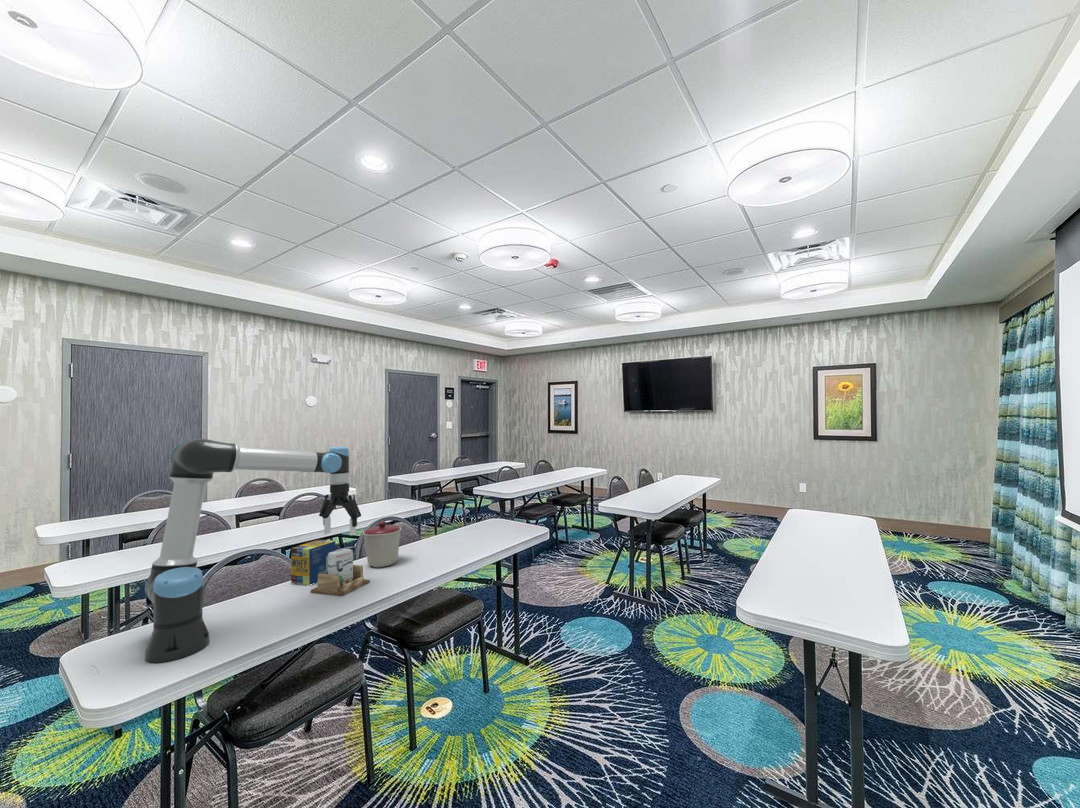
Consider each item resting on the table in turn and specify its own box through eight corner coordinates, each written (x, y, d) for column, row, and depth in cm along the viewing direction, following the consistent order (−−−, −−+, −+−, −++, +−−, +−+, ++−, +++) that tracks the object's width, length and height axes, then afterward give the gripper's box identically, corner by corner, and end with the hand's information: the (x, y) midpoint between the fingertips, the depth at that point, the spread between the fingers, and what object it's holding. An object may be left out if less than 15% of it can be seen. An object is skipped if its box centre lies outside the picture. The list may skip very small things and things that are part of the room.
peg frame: (341, 596, 174) (341, 577, 174) (310, 592, 179) (310, 574, 179) (370, 582, 189) (369, 565, 189) (340, 579, 194) (340, 563, 194)
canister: (383, 557, 226) (382, 516, 228) (410, 560, 219) (409, 518, 220) (354, 568, 210) (353, 523, 211) (382, 572, 202) (381, 525, 204)
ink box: (333, 583, 179) (333, 554, 180) (327, 581, 182) (327, 552, 183) (353, 577, 186) (353, 549, 187) (347, 575, 189) (346, 547, 190)
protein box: (290, 584, 191) (290, 548, 192) (318, 572, 205) (318, 539, 206) (309, 586, 188) (308, 549, 188) (336, 574, 202) (336, 540, 203)
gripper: (369, 482, 186) (370, 533, 184) (323, 482, 194) (324, 530, 193) (356, 484, 179) (357, 537, 177) (309, 484, 187) (310, 534, 186)
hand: (340, 534), depth 185 cm, fingers open, 13 cm apart
